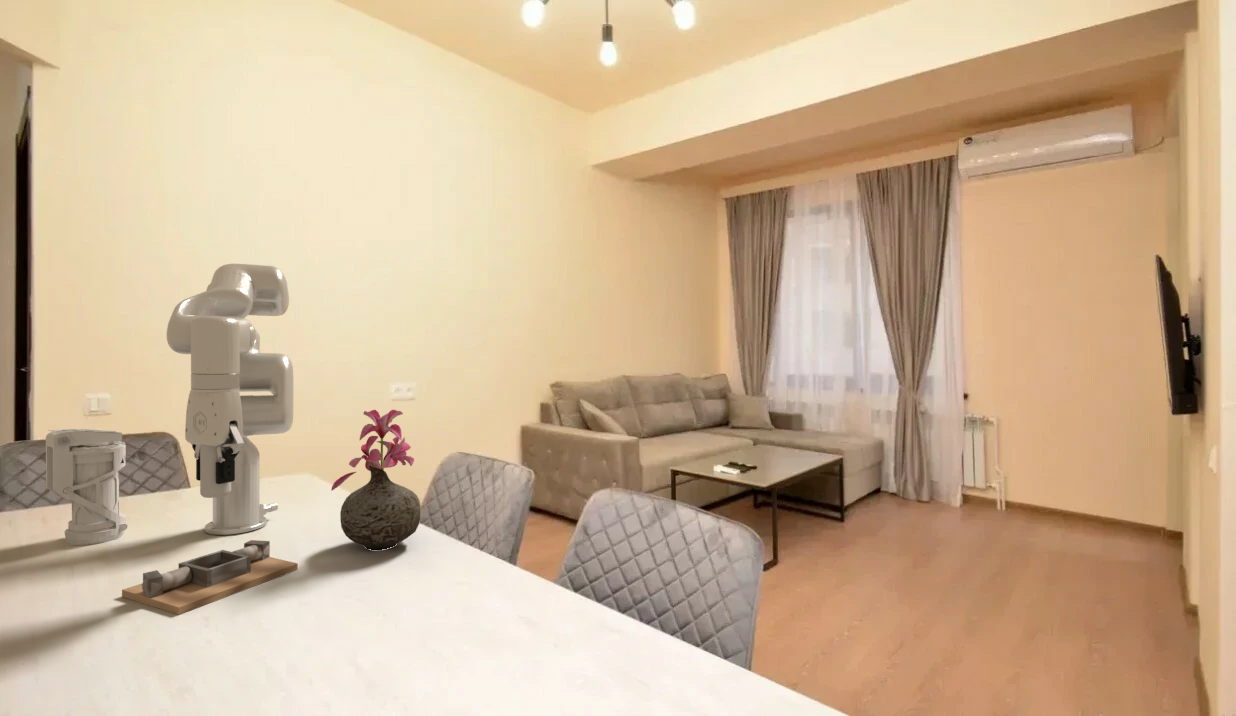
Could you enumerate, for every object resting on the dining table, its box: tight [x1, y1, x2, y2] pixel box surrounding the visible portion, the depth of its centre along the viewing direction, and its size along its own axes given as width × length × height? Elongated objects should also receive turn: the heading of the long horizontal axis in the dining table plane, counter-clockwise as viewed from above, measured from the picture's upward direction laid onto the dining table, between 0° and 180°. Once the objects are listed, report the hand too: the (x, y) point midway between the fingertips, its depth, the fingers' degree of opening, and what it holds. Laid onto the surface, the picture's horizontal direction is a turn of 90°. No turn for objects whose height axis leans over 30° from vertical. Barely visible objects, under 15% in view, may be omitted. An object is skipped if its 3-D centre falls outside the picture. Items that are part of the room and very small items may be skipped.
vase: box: [330, 409, 421, 550], centre depth 133 cm, size 17×17×30 cm
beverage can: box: [199, 441, 231, 499], centre depth 112 cm, size 5×5×12 cm
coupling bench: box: [121, 539, 299, 615], centre depth 112 cm, size 22×16×4 cm
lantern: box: [45, 428, 128, 546], centre depth 134 cm, size 13×10×25 cm
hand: (215, 479), depth 112 cm, fingers closed on beverage can, 4 cm apart
